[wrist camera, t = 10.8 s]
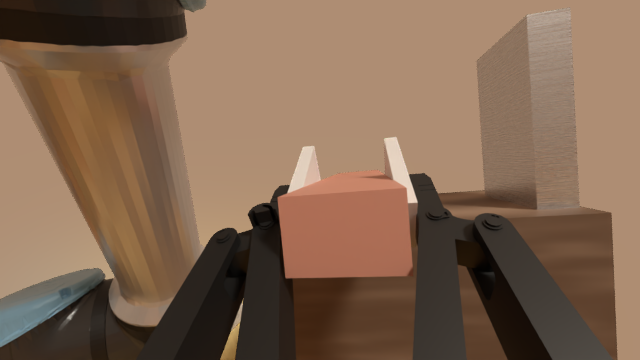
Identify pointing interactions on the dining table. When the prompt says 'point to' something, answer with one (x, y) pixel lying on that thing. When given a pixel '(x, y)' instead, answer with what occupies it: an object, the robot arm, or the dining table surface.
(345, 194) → the terracotta clay brick
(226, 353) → the dining table surface
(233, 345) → the dining table surface
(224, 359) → the dining table surface
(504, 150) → the bookend
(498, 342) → the wooden block pedestal
